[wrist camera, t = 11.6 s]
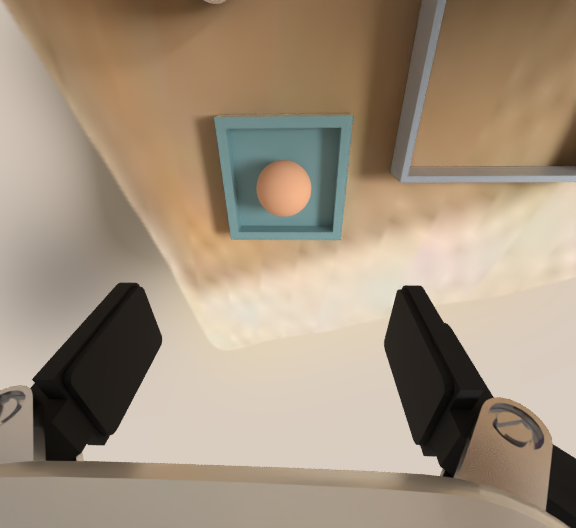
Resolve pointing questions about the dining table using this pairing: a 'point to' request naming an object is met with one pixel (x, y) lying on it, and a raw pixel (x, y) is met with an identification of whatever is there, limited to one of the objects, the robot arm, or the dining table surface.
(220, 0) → the spread jar
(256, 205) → the dish
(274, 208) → the ball
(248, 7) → the dining table surface
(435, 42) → the grey hollow rectangular frame
